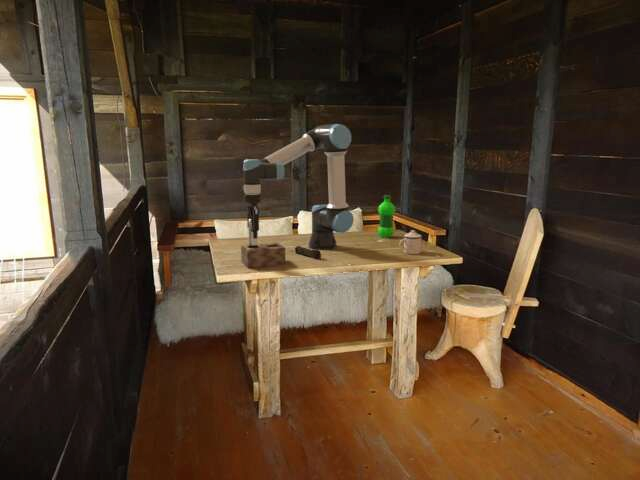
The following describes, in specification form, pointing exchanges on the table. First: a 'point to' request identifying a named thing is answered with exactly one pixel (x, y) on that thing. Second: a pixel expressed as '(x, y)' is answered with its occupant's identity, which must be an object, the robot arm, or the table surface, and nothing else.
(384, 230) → the plastic bottle
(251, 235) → the peg
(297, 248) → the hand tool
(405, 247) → the teacup with lid
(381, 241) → the table surface
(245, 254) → the hole block
